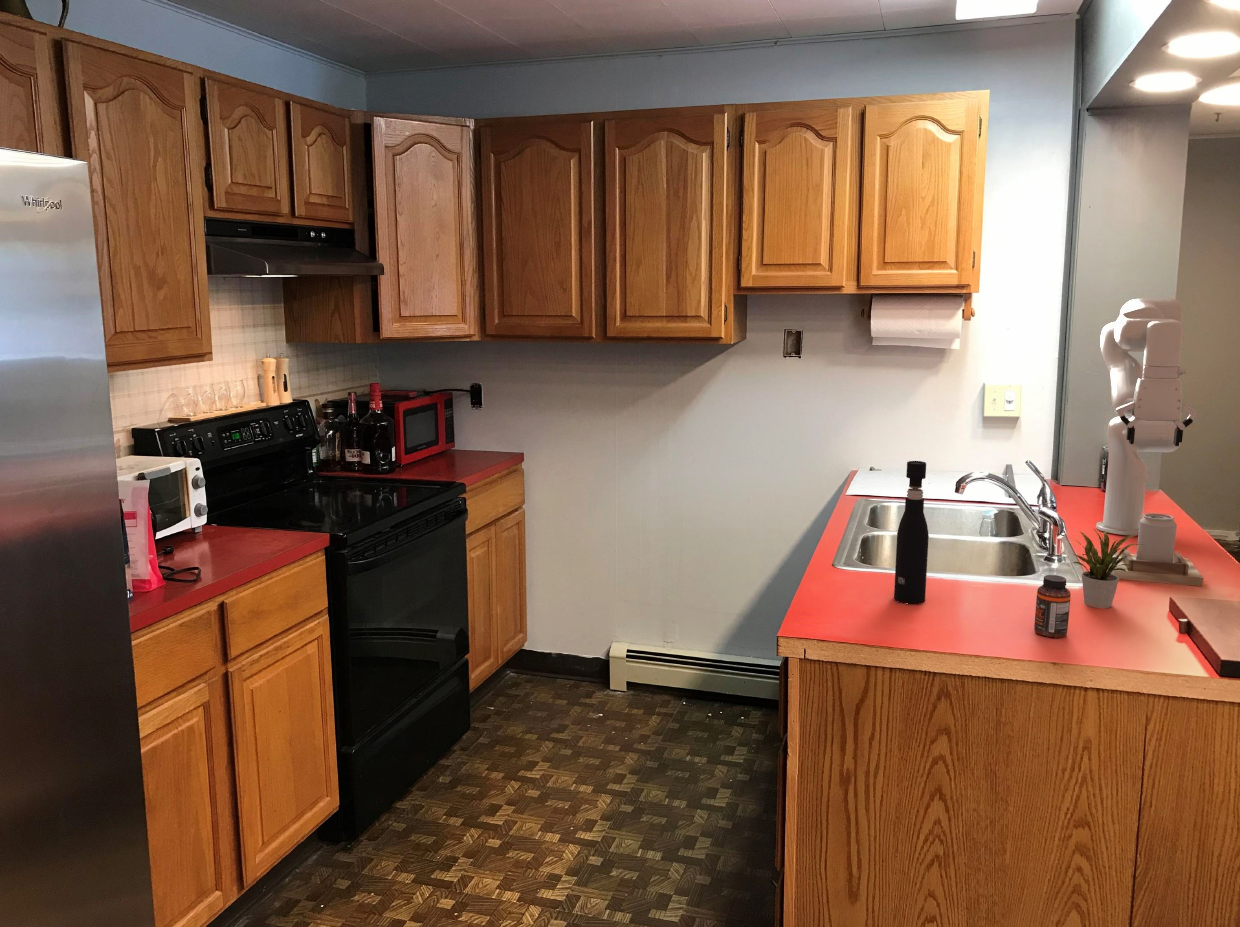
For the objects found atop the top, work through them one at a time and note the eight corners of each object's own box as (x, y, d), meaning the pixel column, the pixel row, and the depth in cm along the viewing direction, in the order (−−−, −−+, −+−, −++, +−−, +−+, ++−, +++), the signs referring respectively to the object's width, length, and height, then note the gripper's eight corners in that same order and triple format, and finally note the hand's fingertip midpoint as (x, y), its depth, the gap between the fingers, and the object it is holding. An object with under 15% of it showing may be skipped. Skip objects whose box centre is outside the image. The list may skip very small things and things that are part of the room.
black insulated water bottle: (925, 596, 210) (933, 460, 204) (924, 605, 204) (932, 465, 199) (894, 593, 212) (901, 458, 207) (892, 602, 206) (899, 464, 201)
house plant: (1152, 604, 204) (1160, 529, 201) (1130, 621, 195) (1137, 542, 192) (1081, 590, 214) (1088, 518, 211) (1057, 604, 204) (1063, 529, 201)
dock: (1104, 559, 237) (1105, 542, 236) (1187, 566, 231) (1189, 548, 230) (1112, 578, 222) (1114, 559, 222) (1202, 586, 216) (1204, 566, 216)
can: (1164, 561, 228) (1169, 512, 226) (1177, 570, 221) (1183, 519, 219) (1130, 560, 229) (1135, 511, 227) (1142, 569, 222) (1147, 518, 220)
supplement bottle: (1027, 628, 191) (1032, 573, 189) (1057, 627, 191) (1061, 572, 189) (1043, 639, 185) (1048, 582, 183) (1073, 638, 185) (1078, 581, 183)
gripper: (1198, 373, 231) (1190, 443, 234) (1117, 371, 237) (1111, 440, 240) (1205, 376, 224) (1197, 448, 227) (1122, 373, 230) (1115, 445, 233)
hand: (1153, 444), depth 234 cm, fingers open, 9 cm apart
